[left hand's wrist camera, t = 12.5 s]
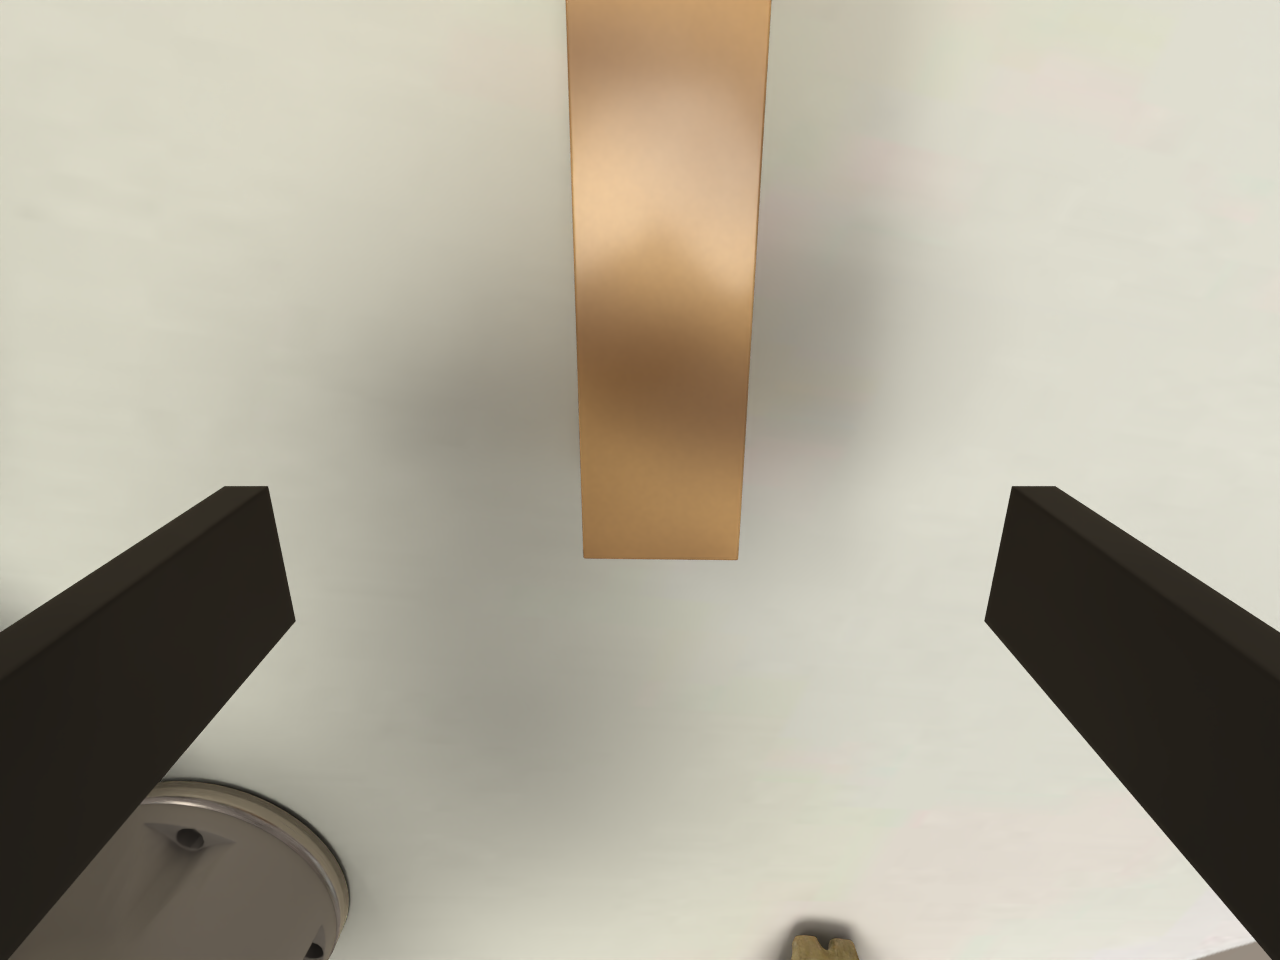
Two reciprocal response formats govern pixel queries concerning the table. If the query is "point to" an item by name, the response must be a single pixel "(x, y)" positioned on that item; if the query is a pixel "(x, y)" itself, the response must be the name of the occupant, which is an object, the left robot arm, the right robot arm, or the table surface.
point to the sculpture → (822, 949)
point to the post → (664, 266)
